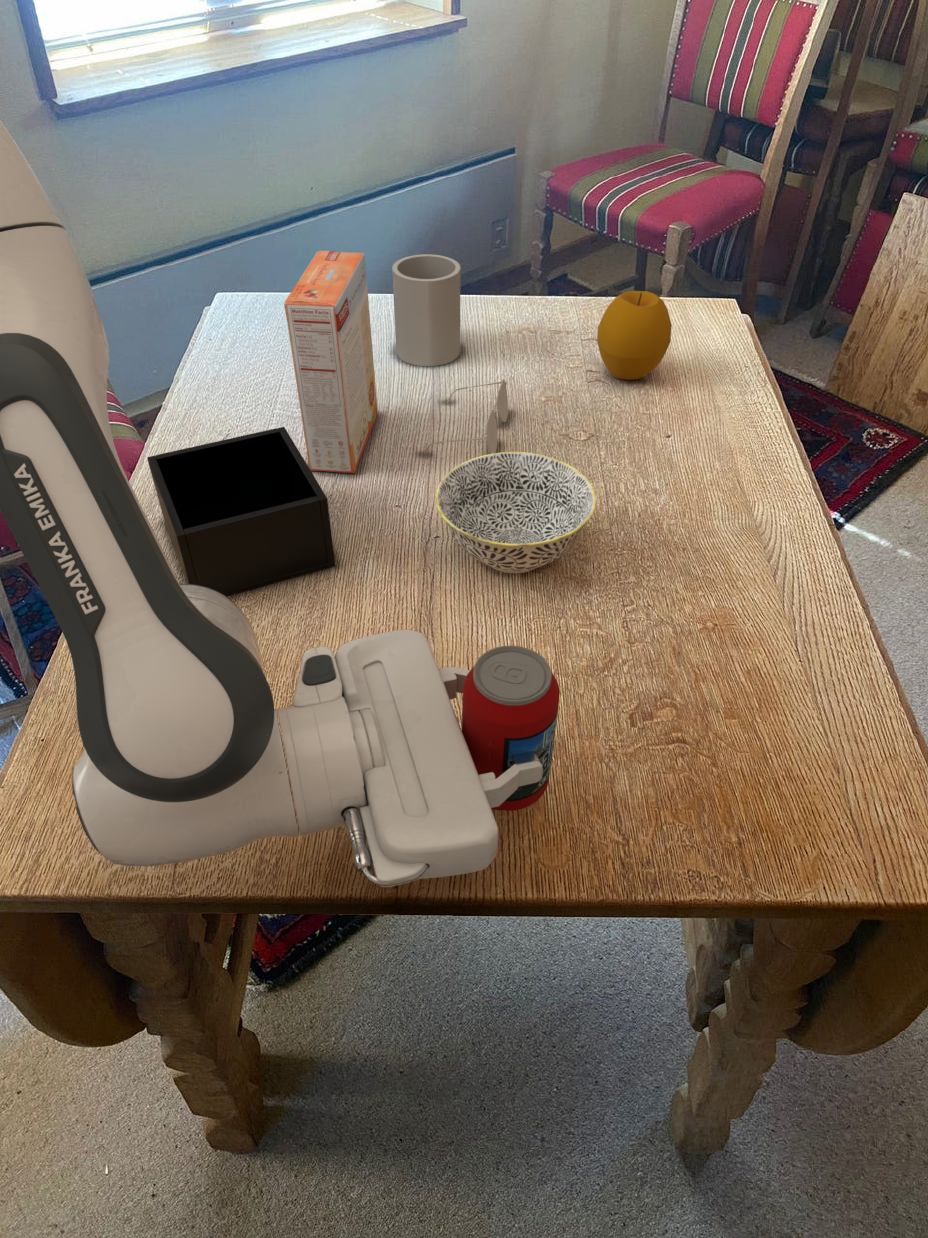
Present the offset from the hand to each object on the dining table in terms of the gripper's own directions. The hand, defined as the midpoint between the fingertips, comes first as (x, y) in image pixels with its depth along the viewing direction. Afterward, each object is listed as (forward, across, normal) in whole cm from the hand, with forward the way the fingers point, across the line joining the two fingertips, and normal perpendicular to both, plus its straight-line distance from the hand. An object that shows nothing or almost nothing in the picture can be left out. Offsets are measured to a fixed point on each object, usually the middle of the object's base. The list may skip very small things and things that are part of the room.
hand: (520, 722), depth 65 cm
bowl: (+10, +30, +10) cm, 33 cm away
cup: (+13, +77, +10) cm, 79 cm away
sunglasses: (+12, +55, +10) cm, 57 cm away
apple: (+37, +63, +9) cm, 74 cm away
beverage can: (-1, 0, +7) cm, 7 cm away
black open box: (-17, +39, +10) cm, 44 cm away
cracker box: (-3, +57, +10) cm, 58 cm away
